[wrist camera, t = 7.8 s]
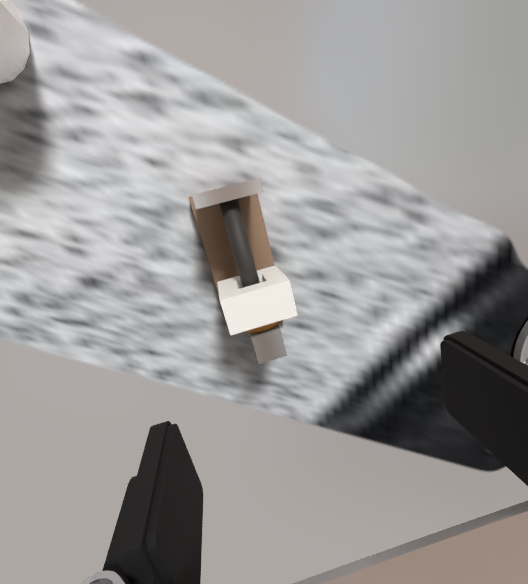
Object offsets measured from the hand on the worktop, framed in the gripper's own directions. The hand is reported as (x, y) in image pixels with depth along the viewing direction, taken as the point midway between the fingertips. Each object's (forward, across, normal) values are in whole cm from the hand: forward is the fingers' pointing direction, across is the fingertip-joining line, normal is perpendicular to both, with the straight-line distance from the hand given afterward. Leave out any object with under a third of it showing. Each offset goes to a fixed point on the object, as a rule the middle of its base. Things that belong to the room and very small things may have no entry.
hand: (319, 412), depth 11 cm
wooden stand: (+18, +1, -2) cm, 18 cm away
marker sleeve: (+14, +1, -1) cm, 14 cm away
